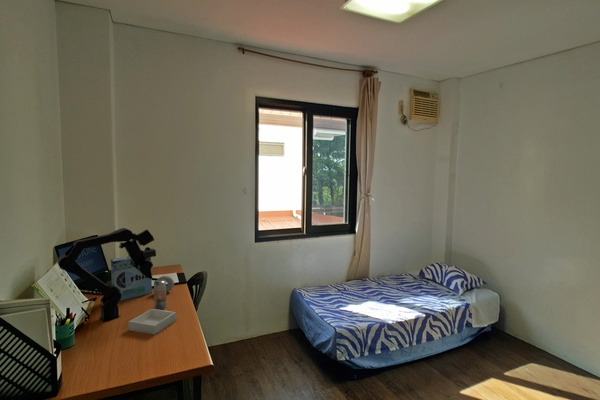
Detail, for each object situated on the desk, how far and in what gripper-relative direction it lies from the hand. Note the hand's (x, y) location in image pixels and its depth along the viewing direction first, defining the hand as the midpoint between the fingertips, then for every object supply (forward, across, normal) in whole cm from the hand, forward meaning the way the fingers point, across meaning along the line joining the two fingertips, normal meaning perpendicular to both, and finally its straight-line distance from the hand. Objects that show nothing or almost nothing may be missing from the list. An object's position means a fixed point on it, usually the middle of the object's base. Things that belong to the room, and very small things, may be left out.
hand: (148, 276), depth 161 cm
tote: (+13, -21, +11) cm, 27 cm away
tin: (+17, -4, +3) cm, 17 cm away
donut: (+20, +16, -5) cm, 26 cm away
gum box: (+14, +21, +9) cm, 27 cm away
